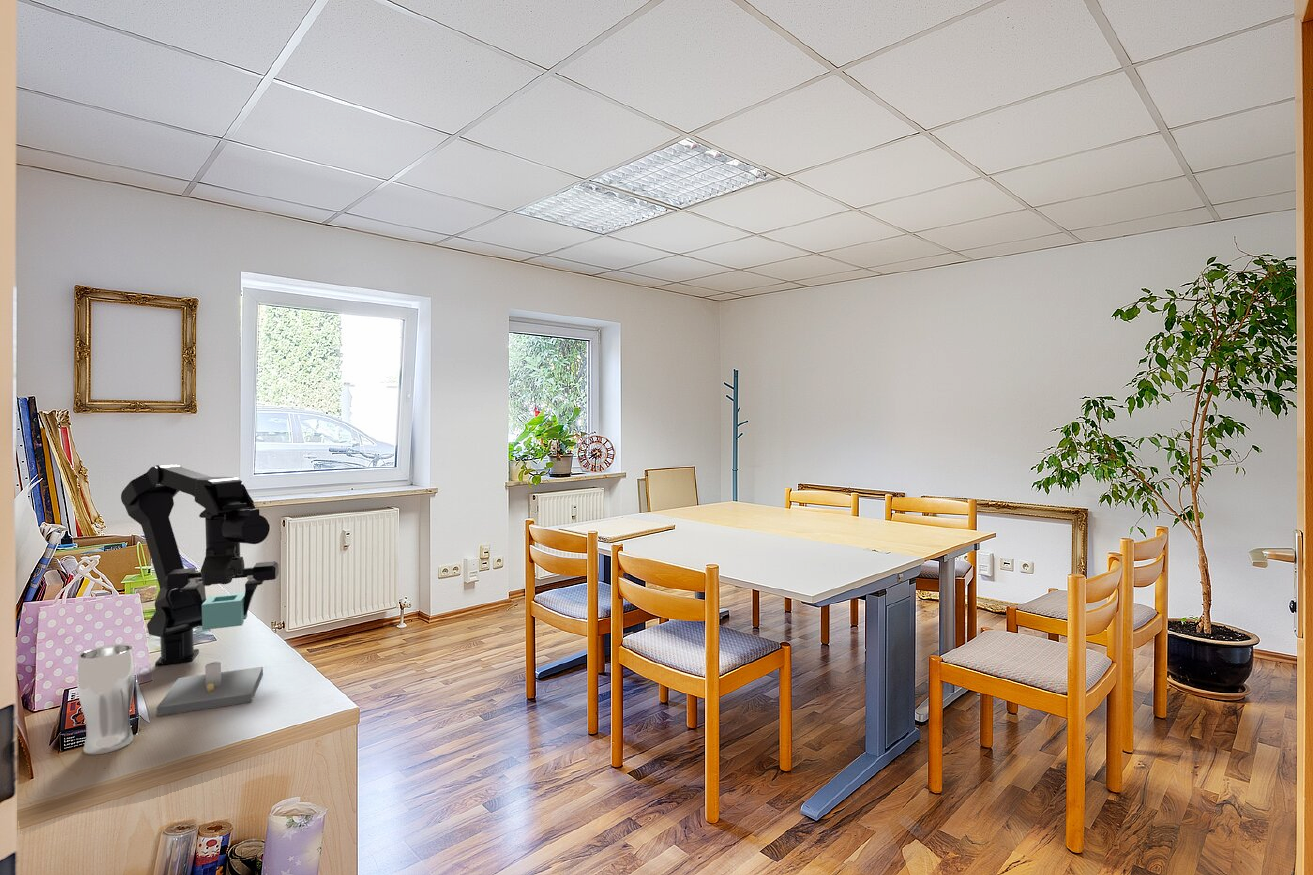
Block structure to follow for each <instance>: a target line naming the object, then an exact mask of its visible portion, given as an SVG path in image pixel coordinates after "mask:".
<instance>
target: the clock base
mask: <svg viewBox="0 0 1313 875" xmlns="http://www.w3.org/2000/svg"><path fill="white" fill-rule="evenodd" d="M221 665H222V663H221V662H219V661H214V662H213V661H212V662H210V663H206V664H205V665H204V668H205V669H204V670H205V673H204V674H198V675H191V676H184V677H179V678H177V679H176V681H175V682H174V684H173V685H172V687H171V688H170V689H169V691H168V692H167V693H166V694H165V696H164V697H163V699H162V700H161V701H160V702H159V704H158V705H157V706H156V716H157V717H161V716H167V715H174V714H181V713H186V712H185V711H188V712H193V711H192V710H195V711H200V710H209V709H213V708H221V707H226V706H233V705H239V704H240V705H241V704H245V703H246V704H248V703H252V701H253V699H252V698H254V696H255V694H256V691H257V689H258V687H259V684H260V681H261V680H262V677H263V675H264V667H263V666H258V667H251V668H244V669H243V668H242V669H235V670H230V671H229V670H227V671H222V666H221Z"/></svg>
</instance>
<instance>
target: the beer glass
mask: <svg viewBox="0 0 1313 875" xmlns="http://www.w3.org/2000/svg"><path fill="white" fill-rule="evenodd" d="M77 656H78V657H77V660H78V661H77V672H76V673H77V674H76V675H77V676H76V685H77V694H78V699H79V703H80V707H81V709H82V713H83V717H84V721H85V728H86V736H85V741H84V745H83V752H84V753H85V754H86V755H91V756H92V755H95V756H96V755H103V754H107V753H108V754H109V753H111V752H115V751H117V750H120V749H123V748H124V747H127V746H128V745H130V744H131V743H132V742H133V741H134V733H133V730H132V726H131V723H130V721H131V720H130V714H131V707H132V706H131V705H132V700H133V695H134V690H135V680H136V678H135V677H136V672H135V670H136V669H135V661H134V660H135V658H134V653H133V645H130V644H127V643H119V644H118V643H117V644H108V645H103V646H99V647H95V648H91V649H88V650H85V651H83V652H81V653H80V654H78V655H77Z"/></svg>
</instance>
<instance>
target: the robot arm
mask: <svg viewBox="0 0 1313 875" xmlns="http://www.w3.org/2000/svg"><path fill="white" fill-rule="evenodd" d="M179 492H181V493H185V494H188V495H190V496H192V497H194V502H195V503H197V504H198V505H199V506H201V507H203V508H204V510H203V511H201V512H200V514H198V517H199V518H200V519H201V518H203V519H205V520H204V521H205V522H204V523H205V545H206V546H205V547H206V548H205V557H204V559H203V563H202V565H201V567H200V571H196V569H195V567H189V568H185V567H184V563H183V559H182V557H181V554H180V550H179V547H178V544H177V543H178V542H177V540H176V537H175V534H174V530H173V527H172V524H171V519H170V515H171V513H172V510H173V507H175V506H174V505H175V502H174V497H175V496H176V495H177V494H178V493H179ZM120 499H121V503H122V505H124V507H125V510H126V513H127V515H128V516H129V517H130V518H131V519H133V521H135V522H136V523H138V524H139V525H140V526H141V528H142V532H143V536H144V539H145V542H146V545H147V548H148V553H149V557H150V559H151V563H152V566H153V570H154V572H155V576H156V578H157V583H158V586H159V590H158V593H157V596H156V598H155V601H154V608H155V612H154V613H153V614H152V616H151V618H150V619H149V620H148V622H147V623H146V627H147V632H148V635H150V636H154V637H158V638H159V639H160V640H159V642H160V657H158V659H157V660H156V661H155V663H154V665H155V666H161V665H170V664H177V663H185V662H191V661H194V659H195V658H196V656H197V655H198V653H199V652H200V649H199V648H194V646H195V645H194V644H195V643H194V640H195V639H194V628H198V627H202V604H203V603H204V602H205V601H206V599H207V596H206V587H209V586H211V585H228V584H230V583H232V582H233V579H243V578H247V581H246V582H245V583H244V590H245V591H244V593H245V599H244V615H246V614H247V615H248V611H249V609H250V606H251V603H252V601H253V597H254V594H255V592H256V590H257V587H258V586H260V585H263V583H264V582H266V581H273V580H276V579H277V577H278V575H279V574H280V572H279V571H280V568H279V563H278V562H276V561H263V562H261V561H260V562H256V563H255V565H254V566H253V567H245V561H244V557H243V556H241V544H250V545H257V544H261V543H262V542H263V541H265V540H266V539H267V537H268V536H269V534H270V529H271V528H270V527H271V525H270V523H269V521H268V520H267V518H265V516H264V515H262V514H261V515H260V509H259V508H256V505H255V501H254V500H253V498H252V497H251V495H250V494H249V492H248V490H247V488H246V485H245V484H244V483H243V481H242V480H241V479H240V478H239V477H237V476H236V477H235V476H209V475H206V474H203V473H200V472H197V471H193V470H192V469H188V468H185V467H182V466H181V465H179V464H176V463H171V464H156V465H154V466H151V467H150V468H149V469H148V470H147V472H145V473H143V474H141V475H139V476H138V477H136V478H134V479H132V480H130V481H129V483H128V484H127V485H126V486H125V487H124V489H123V490H122V491H121V494H120Z"/></svg>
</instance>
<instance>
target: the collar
mask: <svg viewBox="0 0 1313 875" xmlns="http://www.w3.org/2000/svg"><path fill="white" fill-rule="evenodd" d="M244 599H245V592H240V593H238V592H237V593H228V594H219V595H210V596H208V597H206V601H205V602H204V603H203V604H202V626H201V628H202V630H203V631H204V630H205V631H206V630H215V629H223V628H233V627H234V628H235V627H241V626H243V625H244V620H246V619H247V617H248V613H247V614H246V615H244Z"/></svg>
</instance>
